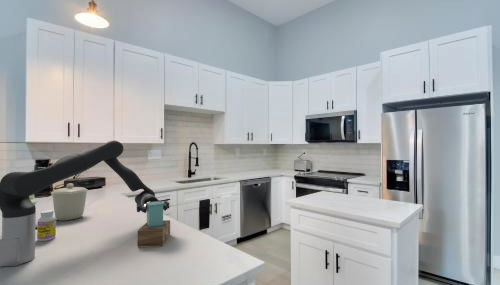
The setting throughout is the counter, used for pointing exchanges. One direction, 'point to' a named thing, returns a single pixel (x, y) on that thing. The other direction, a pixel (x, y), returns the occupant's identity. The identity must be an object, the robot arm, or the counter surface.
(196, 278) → the counter surface
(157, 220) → the teal lidded bin
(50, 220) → the supplement bottle
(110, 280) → the counter surface
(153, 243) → the wooden crate
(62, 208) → the canister
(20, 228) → the robot arm
